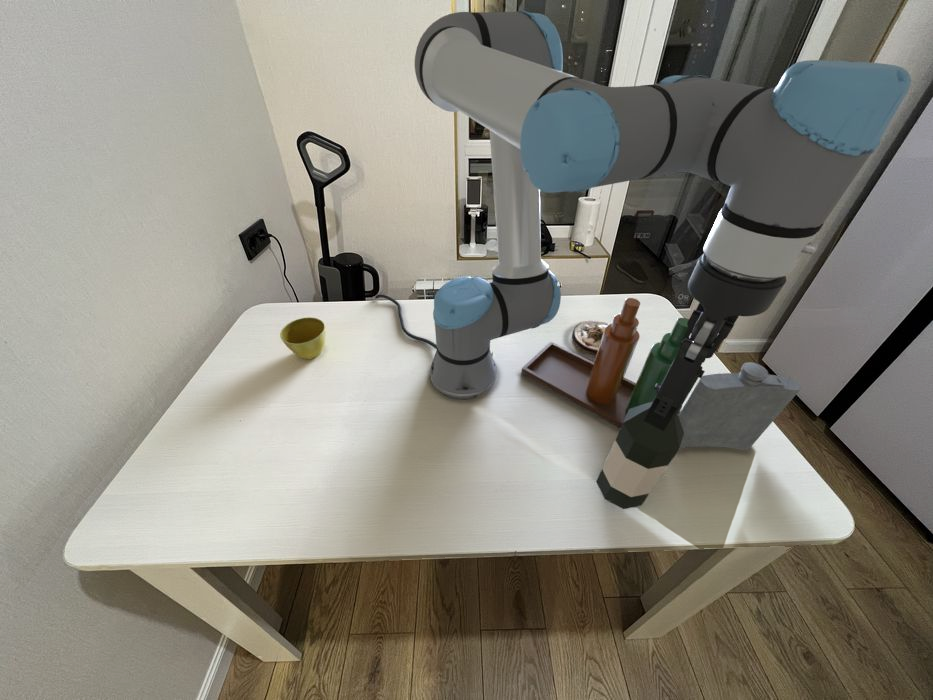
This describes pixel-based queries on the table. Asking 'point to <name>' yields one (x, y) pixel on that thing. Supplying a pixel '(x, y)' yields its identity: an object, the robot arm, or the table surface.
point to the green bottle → (657, 365)
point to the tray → (576, 381)
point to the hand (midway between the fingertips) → (660, 415)
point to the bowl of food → (588, 335)
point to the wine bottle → (640, 455)
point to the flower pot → (304, 337)
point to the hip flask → (734, 407)
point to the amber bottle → (614, 354)
